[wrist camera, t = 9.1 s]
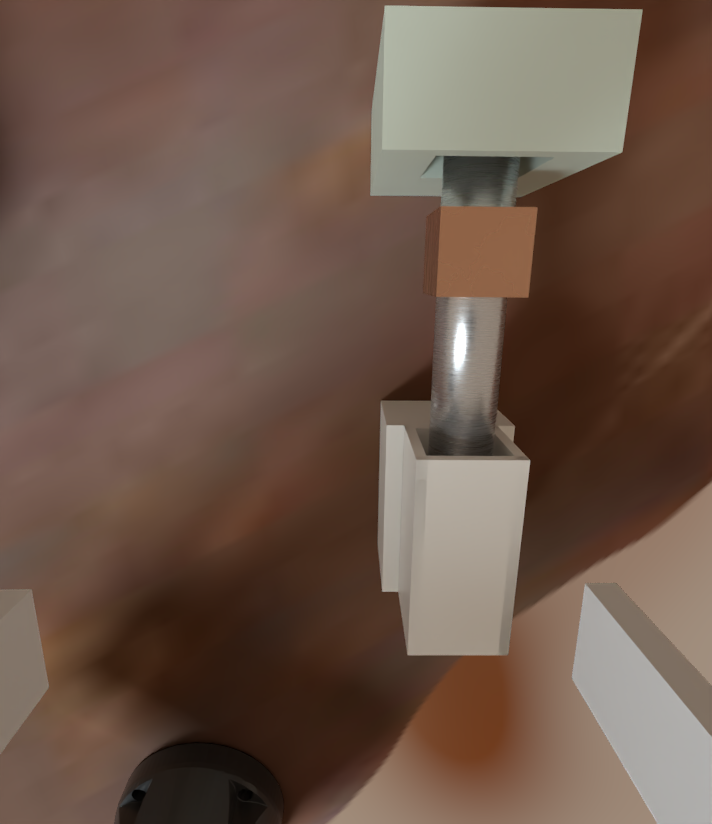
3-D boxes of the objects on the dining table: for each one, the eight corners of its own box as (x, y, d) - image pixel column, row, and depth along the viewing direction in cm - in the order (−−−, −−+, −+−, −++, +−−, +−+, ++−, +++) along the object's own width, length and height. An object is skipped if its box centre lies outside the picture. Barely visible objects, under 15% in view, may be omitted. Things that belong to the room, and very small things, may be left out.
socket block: (520, 196, 32) (622, 152, 20) (370, 195, 32) (382, 149, 20) (528, 111, 31) (642, 9, 19) (371, 109, 31) (385, 5, 19)
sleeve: (476, 544, 40) (527, 655, 28) (377, 544, 39) (388, 655, 28) (488, 401, 36) (552, 460, 25) (380, 400, 36) (394, 459, 25)
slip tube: (486, 459, 30) (508, 490, 26) (415, 459, 30) (426, 489, 26) (516, 113, 25) (550, 80, 21) (431, 112, 25) (447, 79, 21)
